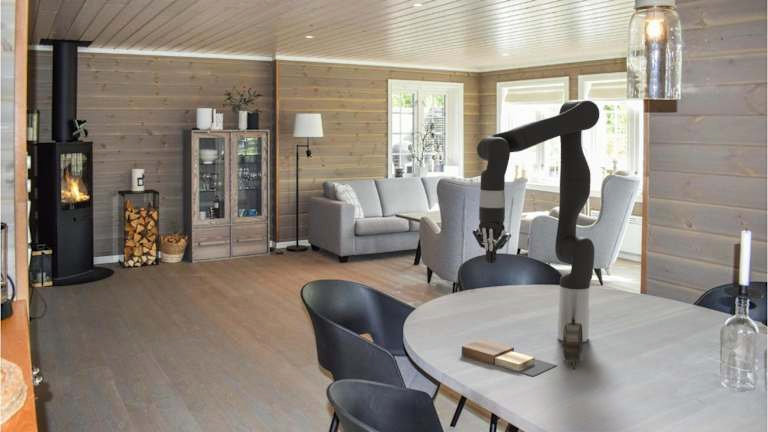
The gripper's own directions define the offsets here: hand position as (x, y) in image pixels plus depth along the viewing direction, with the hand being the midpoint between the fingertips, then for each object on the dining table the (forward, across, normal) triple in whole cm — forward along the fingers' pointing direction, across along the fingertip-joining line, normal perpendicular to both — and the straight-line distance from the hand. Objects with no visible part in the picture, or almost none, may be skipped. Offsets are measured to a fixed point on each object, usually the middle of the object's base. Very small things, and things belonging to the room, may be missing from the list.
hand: (490, 262), depth 209 cm
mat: (+27, -16, +4) cm, 31 cm away
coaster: (+27, -13, +6) cm, 30 cm away
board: (+27, -3, +5) cm, 28 cm away
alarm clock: (+27, -24, -7) cm, 37 cm away
